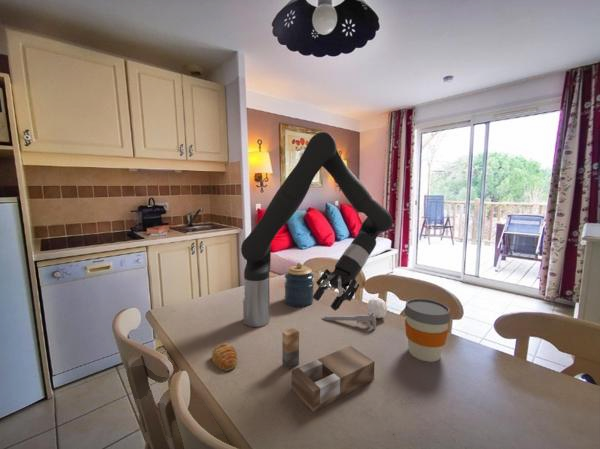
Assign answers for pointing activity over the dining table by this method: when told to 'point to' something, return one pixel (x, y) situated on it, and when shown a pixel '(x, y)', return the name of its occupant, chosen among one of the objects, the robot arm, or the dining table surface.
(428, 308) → the reusable coffee cup
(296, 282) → the canister
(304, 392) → the notched wooden block
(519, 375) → the dining table surface
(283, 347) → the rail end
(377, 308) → the geometric ball
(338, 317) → the caliper
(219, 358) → the pastry
